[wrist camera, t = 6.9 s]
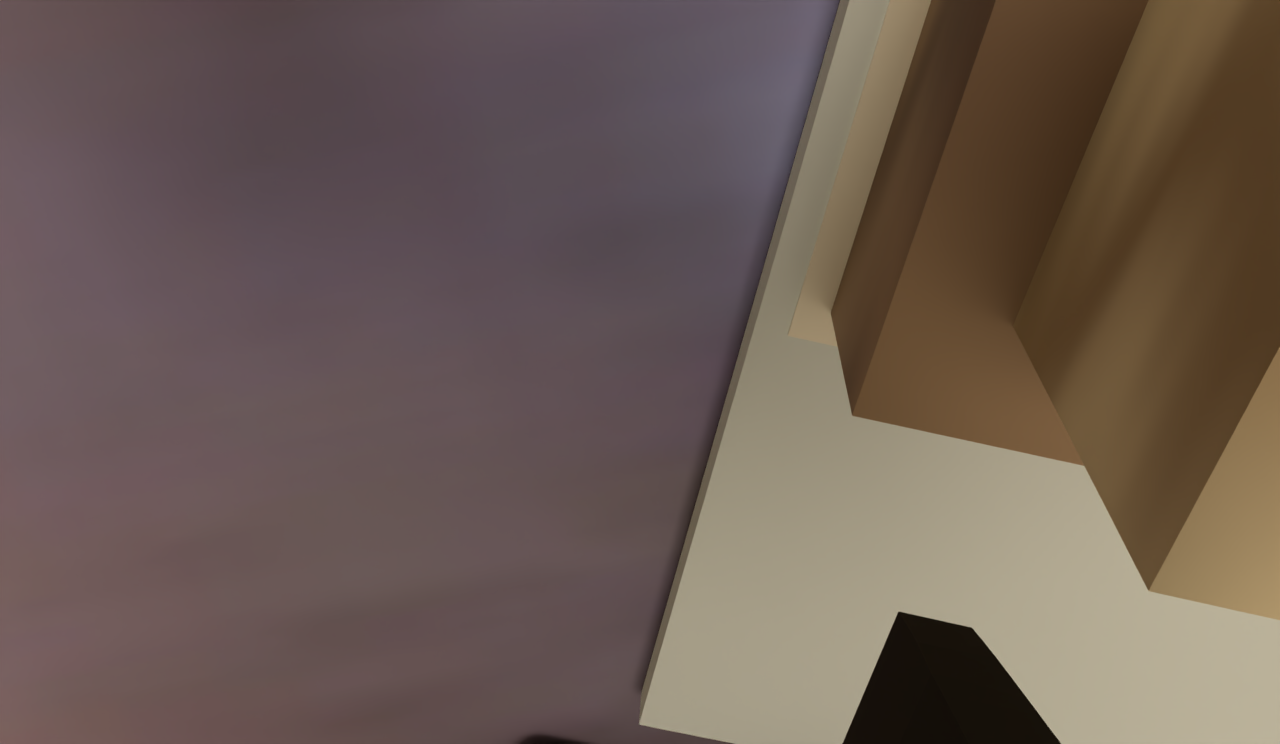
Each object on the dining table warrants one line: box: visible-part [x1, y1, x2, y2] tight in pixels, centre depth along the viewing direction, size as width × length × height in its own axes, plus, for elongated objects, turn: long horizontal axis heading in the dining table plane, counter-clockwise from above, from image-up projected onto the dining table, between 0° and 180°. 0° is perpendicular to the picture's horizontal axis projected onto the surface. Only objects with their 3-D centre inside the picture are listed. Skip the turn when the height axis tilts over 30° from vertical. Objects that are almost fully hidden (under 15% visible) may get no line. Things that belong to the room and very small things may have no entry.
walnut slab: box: [831, 0, 1149, 466], centre depth 15 cm, size 8×8×3 cm
